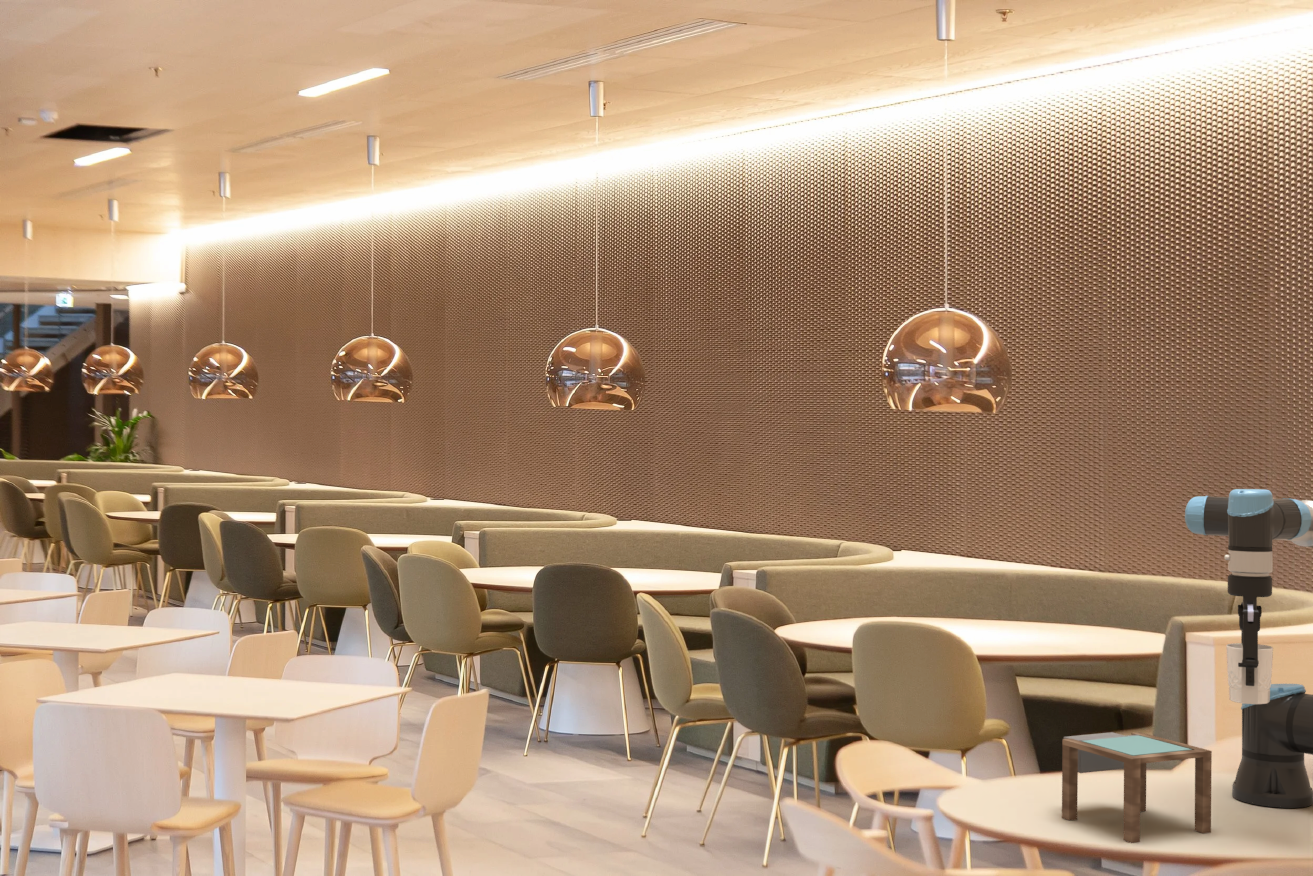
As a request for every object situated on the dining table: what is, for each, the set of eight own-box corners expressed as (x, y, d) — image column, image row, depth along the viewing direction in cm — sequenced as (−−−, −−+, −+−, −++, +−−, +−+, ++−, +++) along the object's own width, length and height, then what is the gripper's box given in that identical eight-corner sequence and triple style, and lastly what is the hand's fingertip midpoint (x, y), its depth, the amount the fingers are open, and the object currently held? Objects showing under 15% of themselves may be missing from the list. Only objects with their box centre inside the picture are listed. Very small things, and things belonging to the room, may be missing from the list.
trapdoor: (1116, 762, 290) (1116, 729, 290) (1191, 784, 272) (1191, 748, 272) (1059, 768, 285) (1059, 734, 285) (1132, 791, 266) (1132, 754, 266)
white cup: (1252, 706, 262) (1252, 650, 262) (1216, 699, 269) (1216, 644, 269) (1282, 703, 266) (1282, 647, 266) (1246, 696, 273) (1246, 642, 273)
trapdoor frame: (1138, 808, 288) (1139, 732, 288) (1210, 832, 271) (1211, 750, 271) (1061, 818, 280) (1062, 739, 280) (1131, 843, 263) (1131, 759, 263)
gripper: (1227, 568, 278) (1226, 689, 278) (1228, 578, 259) (1227, 707, 259) (1270, 570, 275) (1269, 692, 275) (1274, 579, 256) (1273, 710, 256)
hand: (1249, 699), depth 267 cm, fingers closed on white cup, 7 cm apart
